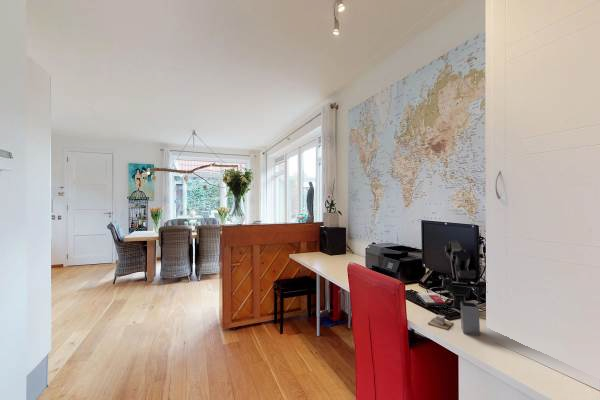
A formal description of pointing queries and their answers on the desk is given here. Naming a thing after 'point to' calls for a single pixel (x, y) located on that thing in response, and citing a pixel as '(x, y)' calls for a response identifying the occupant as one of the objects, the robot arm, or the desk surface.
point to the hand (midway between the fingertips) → (467, 301)
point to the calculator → (430, 299)
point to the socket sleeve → (470, 318)
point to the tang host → (440, 322)
